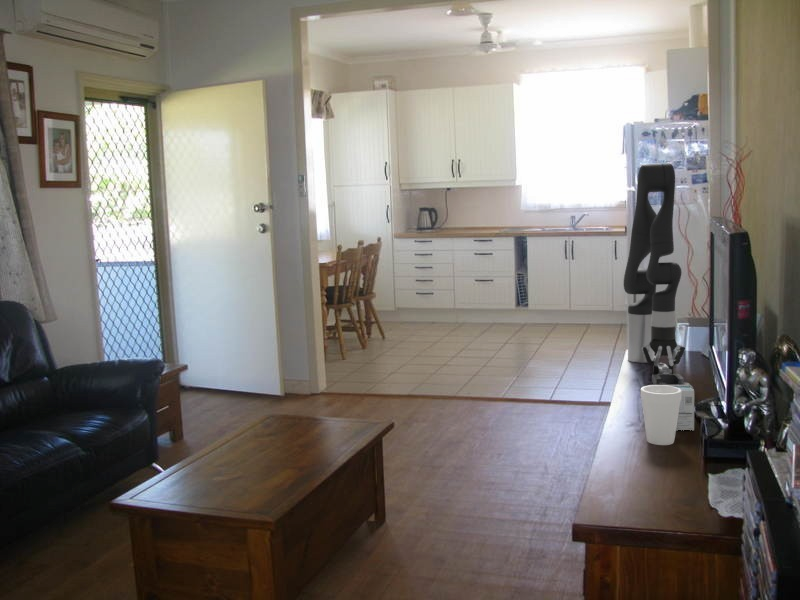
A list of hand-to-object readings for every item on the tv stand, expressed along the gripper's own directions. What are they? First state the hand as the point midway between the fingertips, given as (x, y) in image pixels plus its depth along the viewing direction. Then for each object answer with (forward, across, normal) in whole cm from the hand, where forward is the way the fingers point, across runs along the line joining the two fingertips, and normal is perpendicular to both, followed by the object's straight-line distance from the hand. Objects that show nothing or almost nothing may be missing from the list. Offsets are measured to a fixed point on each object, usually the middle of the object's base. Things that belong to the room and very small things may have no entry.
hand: (662, 376), depth 267 cm
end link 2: (+1, 0, +22) cm, 22 cm away
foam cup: (+1, +14, +68) cm, 69 cm away
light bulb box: (+1, +10, +56) cm, 56 cm away
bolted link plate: (+1, 0, 0) cm, 1 cm away
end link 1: (+1, 0, +10) cm, 10 cm away
